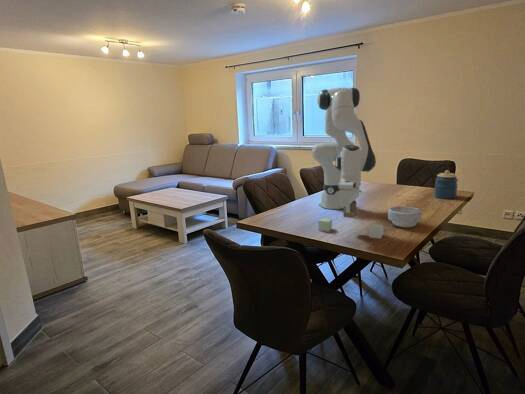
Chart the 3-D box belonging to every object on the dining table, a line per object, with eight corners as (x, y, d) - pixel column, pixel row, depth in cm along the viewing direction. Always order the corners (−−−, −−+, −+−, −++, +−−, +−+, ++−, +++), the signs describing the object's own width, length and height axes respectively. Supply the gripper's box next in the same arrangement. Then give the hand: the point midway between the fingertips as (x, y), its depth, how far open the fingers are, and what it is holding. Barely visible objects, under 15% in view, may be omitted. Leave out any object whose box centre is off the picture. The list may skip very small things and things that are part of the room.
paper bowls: (393, 218, 177) (394, 204, 175) (424, 223, 167) (425, 208, 165) (383, 226, 165) (383, 210, 163) (415, 231, 156) (416, 215, 154)
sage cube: (322, 227, 167) (322, 218, 166) (331, 228, 165) (331, 219, 163) (318, 230, 163) (318, 220, 162) (328, 231, 160) (328, 221, 159)
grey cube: (371, 233, 155) (371, 223, 154) (382, 235, 153) (383, 224, 152) (369, 237, 151) (369, 226, 150) (380, 238, 149) (381, 228, 147)
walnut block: (346, 214, 159) (346, 200, 158) (355, 215, 157) (356, 200, 156) (343, 216, 156) (344, 202, 154) (353, 218, 153) (353, 203, 152)
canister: (456, 200, 210) (458, 172, 206) (432, 198, 216) (435, 171, 212) (457, 195, 220) (459, 169, 216) (434, 194, 227) (437, 168, 223)
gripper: (350, 177, 163) (349, 204, 166) (337, 185, 146) (336, 215, 149) (363, 177, 160) (362, 205, 163) (351, 186, 143) (350, 217, 146)
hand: (349, 210), depth 156 cm, fingers closed on walnut block, 4 cm apart
